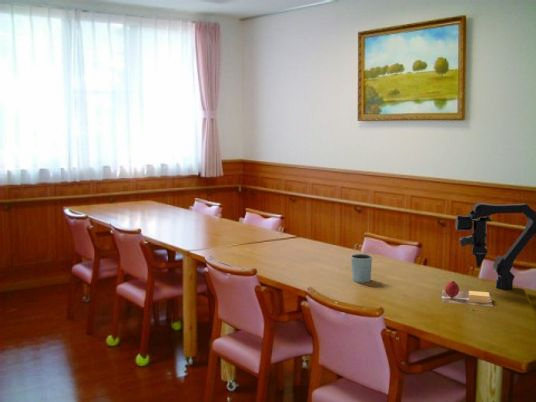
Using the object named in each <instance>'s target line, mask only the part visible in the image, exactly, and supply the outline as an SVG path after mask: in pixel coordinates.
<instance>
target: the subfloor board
mask: <svg viewBox="0 0 536 402" xmlns="http://www.w3.org/2000/svg"><path fill="white" fill-rule="evenodd" d="M441 291H442V292H441V303H448V304H449V303H450V304H461V305H462V304H463V305H473V306H483V307H485V306H486V307H493V302H492V297H491V293H489V303H479V302H469V291H463V290H462V291H460V290H459V293H458V294H457V295H456V296H455V297H453V298H450V296H448V295H447V294H446V292H445V289H442V290H441Z"/></svg>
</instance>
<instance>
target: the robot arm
mask: <svg viewBox="0 0 536 402" xmlns="http://www.w3.org/2000/svg"><path fill="white" fill-rule="evenodd" d="M497 214H498V215H499V214H501V215H502V214H523V215H524V217H526V219H528V220H527V221H526V223H525V224H526V225H525V228H524V230H523V231H522V232H521V234H520V235H519V236H518V237H517V238H516V240H515V242H513V244H512V245H511V247H510V248H509V249H508V250H507V252H505V254H504V255H502V256H501V255H500V254H499V255H497V257H496V259H495V260H494V261H493V264H492V269H493V271H494V272H495V273H496V274H497V278H496V279H495V288H496V289H498V290H502V291H503V290H504V291H510V290H511V291H512V290H513V286H514V285H513V284H514V279H515V278H516V277H515V275H514V274H513V273H512V272H511V270H512V268H513V265H514V262H515V260H516V259H517V257H518V256H519V255H520V253H522V251H523V250H524V248H526V246H527V245H528V243H529V242H530V241H531V240H532V238H533V237H534V236H535V235H536V211H535V210H533V208H531V207H530V206H529V205H528V204H526V203H524V202H523V203H506V204H504V203H503V204H492V203H486V202H476V203H475V204H474V205H473V207H472V210H470V212H469V213H468V215H462V214H461V215H459V214H458V215H456V219H455V222H454V223H455V231H463V232H464V231H467V232H469V231H470V230H472V232H471V235H466V236H462V237H459V239H458V240H459V243H460V244H459V245H460V246H461V247H463V248H464V247H465V246H468V245H470V247H471V254H472V255H473V256H475V263H476V267H477V268H480V267H481V266H482V264H483V262H484V260H485V257H486V256H487V254H488V248H487V247H486V246H487V242H486V241H487V223H488V222H489V223H491V222H492V221H493V220H492V219H491V218H490V216H493V215H497Z"/></svg>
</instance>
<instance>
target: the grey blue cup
mask: <svg viewBox="0 0 536 402" xmlns="http://www.w3.org/2000/svg"><path fill="white" fill-rule="evenodd" d="M350 262H351V272H352V281H353V282H355V283H359V284H361V283H362V284H365V283H369V282H371V279H372V278H371V277H372V275H371V274H372V262H373V256H372V255H371V254H365V253H357V254H356V253H355V254H352V255H350Z"/></svg>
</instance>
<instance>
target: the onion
mask: <svg viewBox="0 0 536 402" xmlns="http://www.w3.org/2000/svg"><path fill="white" fill-rule="evenodd" d="M444 290H445V292H446V294H447V295H448V296H450V298H453V297H455V296H456V295H457V294H458V293H459V291H460V287H459V285H458V283H456V281H454V280H453V279H450V281H449V282H448V283H446V285H445V287H444Z"/></svg>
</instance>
